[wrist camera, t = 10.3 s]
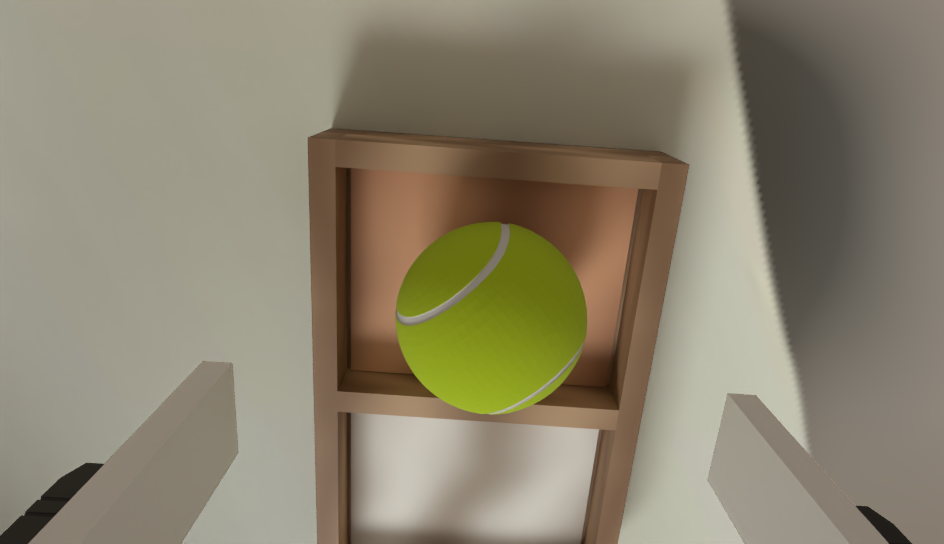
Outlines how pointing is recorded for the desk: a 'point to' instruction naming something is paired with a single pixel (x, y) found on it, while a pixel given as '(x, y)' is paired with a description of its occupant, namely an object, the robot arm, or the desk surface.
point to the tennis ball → (491, 318)
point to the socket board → (420, 411)
